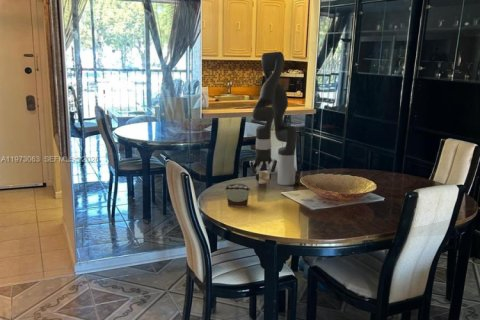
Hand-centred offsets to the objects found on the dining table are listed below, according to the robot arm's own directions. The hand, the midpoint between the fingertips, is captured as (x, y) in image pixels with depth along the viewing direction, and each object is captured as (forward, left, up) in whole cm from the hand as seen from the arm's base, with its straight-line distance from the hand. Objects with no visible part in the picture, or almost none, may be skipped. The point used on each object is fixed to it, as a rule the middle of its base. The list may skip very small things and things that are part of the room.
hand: (263, 180), depth 222 cm
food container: (+13, +4, -11) cm, 17 cm away
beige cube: (0, 0, -1) cm, 1 cm away
